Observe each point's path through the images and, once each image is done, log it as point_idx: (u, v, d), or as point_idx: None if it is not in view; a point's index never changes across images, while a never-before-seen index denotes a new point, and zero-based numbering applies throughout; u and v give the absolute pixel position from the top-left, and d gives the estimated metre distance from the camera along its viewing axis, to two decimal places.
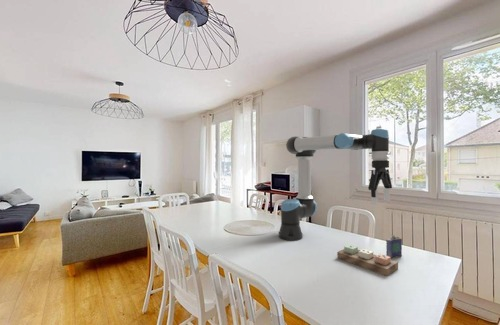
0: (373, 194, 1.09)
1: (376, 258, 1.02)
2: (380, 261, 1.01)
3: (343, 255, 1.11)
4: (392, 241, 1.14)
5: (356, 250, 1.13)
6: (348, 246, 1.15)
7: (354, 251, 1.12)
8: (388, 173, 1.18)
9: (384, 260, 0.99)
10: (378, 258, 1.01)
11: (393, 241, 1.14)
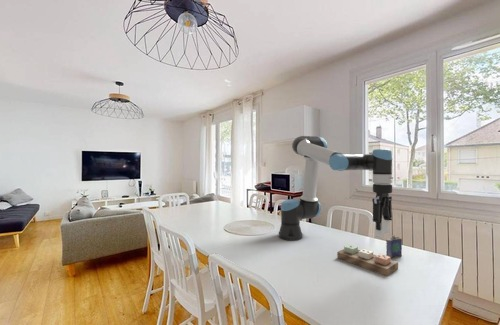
0: (378, 227, 0.99)
1: (376, 258, 1.02)
2: (380, 261, 1.01)
3: (343, 255, 1.11)
4: (392, 241, 1.14)
5: (356, 250, 1.13)
6: (348, 246, 1.15)
7: (354, 251, 1.12)
8: (390, 201, 1.04)
9: (384, 260, 0.99)
10: (378, 258, 1.01)
11: (393, 241, 1.14)
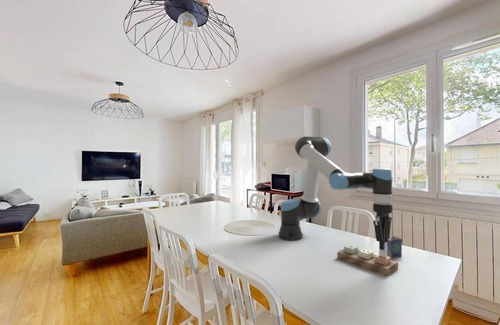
0: (381, 246, 1.01)
1: (376, 258, 1.02)
2: (380, 261, 1.01)
3: (343, 255, 1.11)
4: (392, 241, 1.14)
5: (356, 250, 1.13)
6: (348, 246, 1.15)
7: (354, 251, 1.12)
8: (390, 221, 1.04)
9: (384, 260, 0.99)
10: (378, 258, 1.01)
11: (393, 241, 1.14)
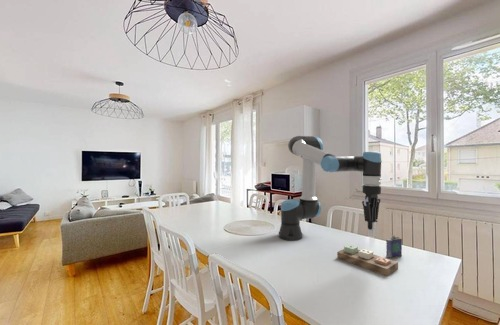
0: (370, 226, 1.05)
1: (376, 261, 1.02)
2: None
3: (343, 255, 1.11)
4: (392, 241, 1.14)
5: (356, 250, 1.13)
6: (348, 246, 1.15)
7: (354, 251, 1.12)
8: (378, 203, 1.08)
9: (384, 263, 0.99)
10: (378, 261, 1.01)
11: (393, 241, 1.14)
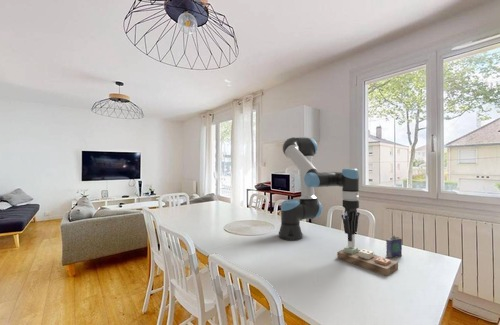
0: (349, 238, 1.13)
1: (376, 261, 1.02)
2: None
3: (343, 255, 1.11)
4: (392, 241, 1.14)
5: (356, 251, 1.13)
6: (348, 247, 1.15)
7: (354, 252, 1.12)
8: (358, 216, 1.16)
9: (384, 263, 0.99)
10: (378, 261, 1.01)
11: (393, 241, 1.14)
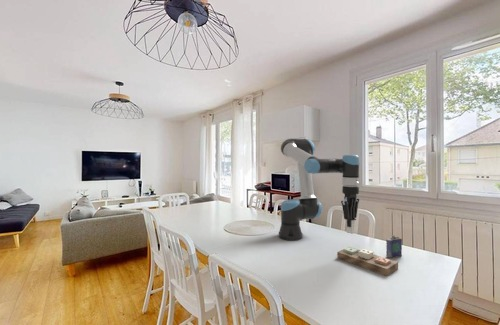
0: (348, 224, 1.13)
1: (376, 261, 1.02)
2: None
3: (343, 255, 1.11)
4: (392, 241, 1.14)
5: None
6: (348, 249, 1.15)
7: None
8: (357, 202, 1.16)
9: (384, 263, 0.99)
10: (378, 261, 1.01)
11: (393, 241, 1.14)
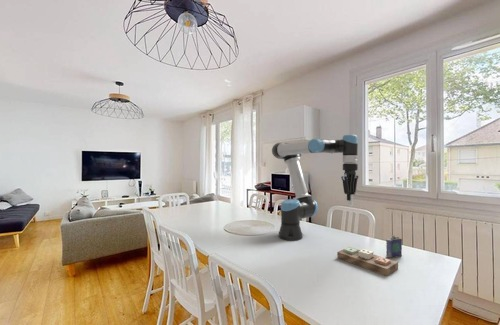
0: (348, 198, 1.24)
1: (376, 261, 1.02)
2: None
3: (343, 255, 1.11)
4: (392, 241, 1.14)
5: None
6: (348, 249, 1.15)
7: None
8: (356, 179, 1.27)
9: (384, 263, 0.99)
10: (378, 261, 1.01)
11: (393, 241, 1.14)
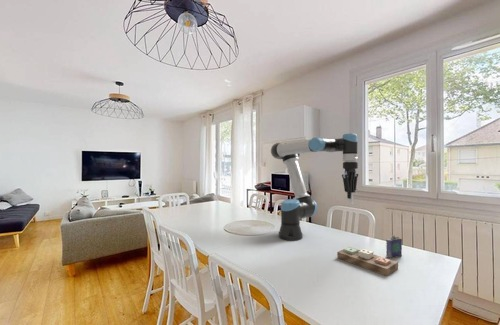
0: (349, 196, 1.26)
1: (376, 261, 1.02)
2: None
3: (343, 255, 1.11)
4: (392, 241, 1.14)
5: None
6: (348, 249, 1.15)
7: None
8: (356, 177, 1.29)
9: (384, 263, 0.99)
10: (378, 261, 1.01)
11: (393, 241, 1.14)
